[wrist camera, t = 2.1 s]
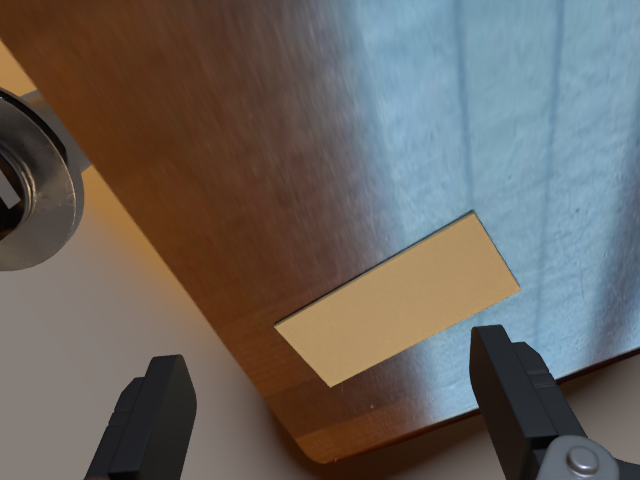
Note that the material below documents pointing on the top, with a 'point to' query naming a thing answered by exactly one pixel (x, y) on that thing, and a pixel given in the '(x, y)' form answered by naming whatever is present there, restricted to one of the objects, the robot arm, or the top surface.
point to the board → (401, 302)
